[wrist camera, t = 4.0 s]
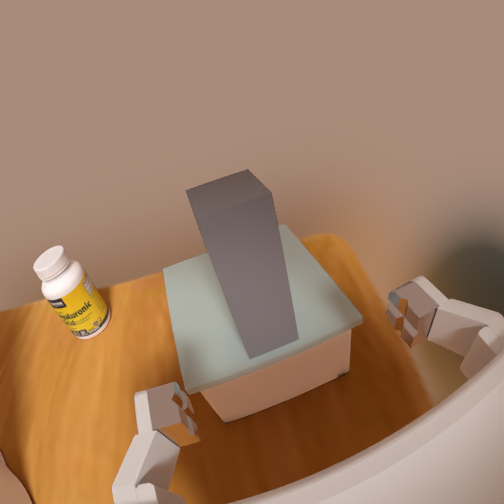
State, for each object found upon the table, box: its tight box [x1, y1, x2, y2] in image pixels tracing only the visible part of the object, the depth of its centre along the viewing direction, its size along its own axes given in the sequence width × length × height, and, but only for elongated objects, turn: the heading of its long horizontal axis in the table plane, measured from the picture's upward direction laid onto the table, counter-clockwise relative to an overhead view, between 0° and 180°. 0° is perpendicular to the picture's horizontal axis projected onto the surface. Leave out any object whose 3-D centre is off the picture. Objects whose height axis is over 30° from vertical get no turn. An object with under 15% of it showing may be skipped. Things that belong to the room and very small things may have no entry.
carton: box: [200, 329, 351, 423], centre depth 24 cm, size 11×10×6 cm
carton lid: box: [163, 169, 363, 395], centre depth 19 cm, size 12×11×10 cm
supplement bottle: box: [33, 246, 111, 339], centre depth 29 cm, size 5×5×10 cm
